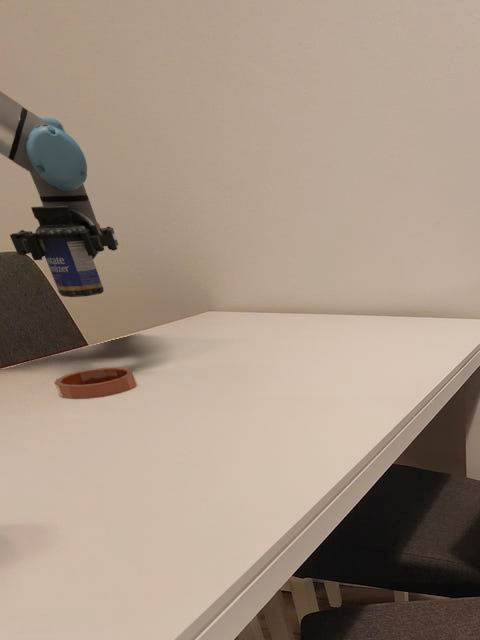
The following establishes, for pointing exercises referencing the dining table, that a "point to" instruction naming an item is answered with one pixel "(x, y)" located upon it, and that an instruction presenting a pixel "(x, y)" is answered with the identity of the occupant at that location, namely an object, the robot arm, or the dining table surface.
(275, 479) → the dining table surface
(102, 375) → the holder
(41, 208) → the pill bottle
